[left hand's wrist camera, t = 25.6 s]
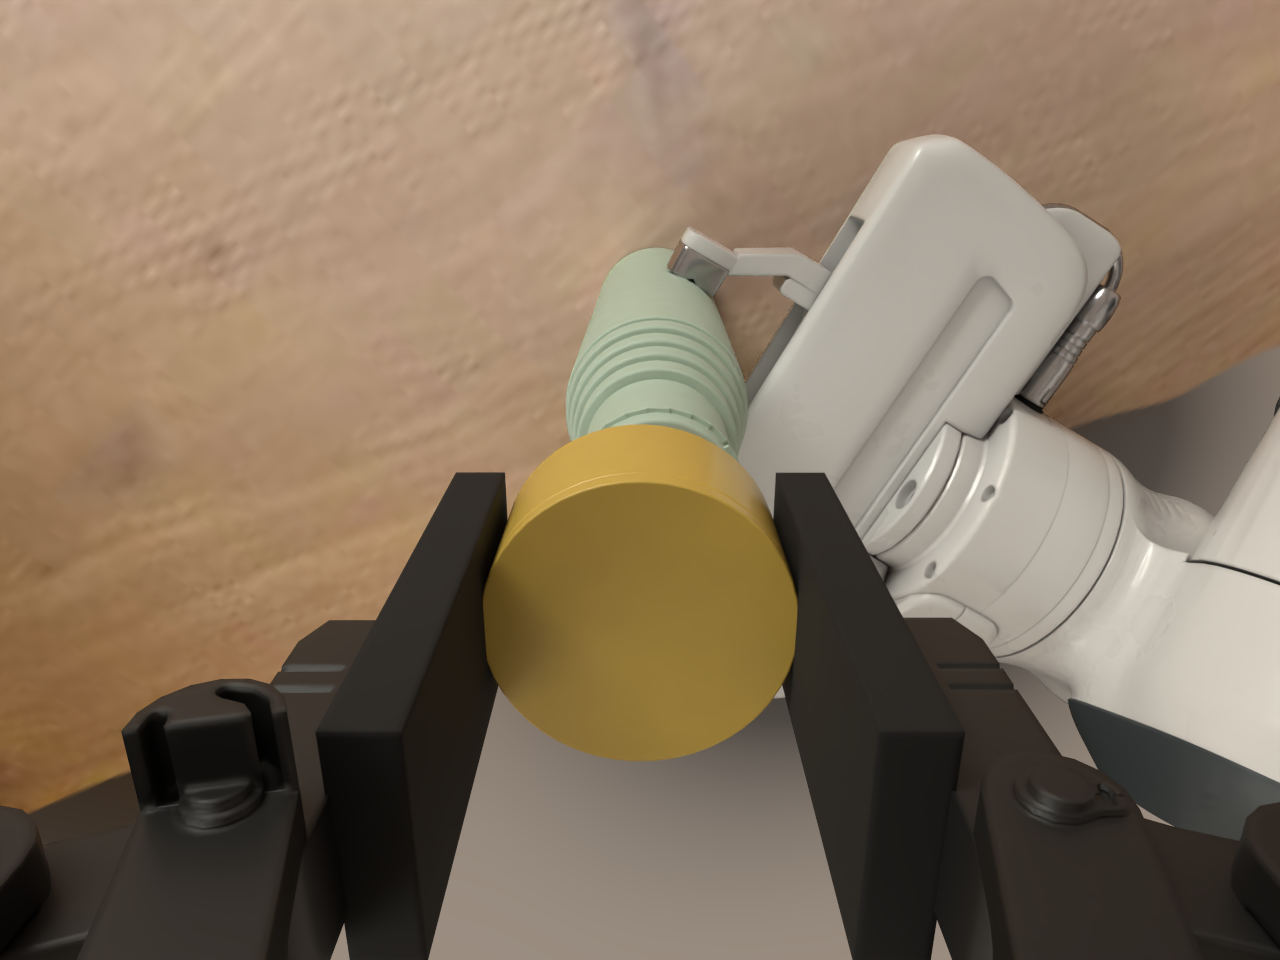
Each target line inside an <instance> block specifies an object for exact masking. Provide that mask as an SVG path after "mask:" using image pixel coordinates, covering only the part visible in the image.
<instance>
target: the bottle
mask: <svg viewBox="0 0 1280 960" xmlns="http://www.w3.org/2000/svg"><path fill="white" fill-rule="evenodd" d="M673 252H674V251H673V250H670V249H666V248H646V249H641V250H638V251H635V252H633V253H631V254H629V255H627V256H626V257H624V258H623V259H621V260H620V261H619V262H618V263H617V264H616V265H615V266H614V267H613V268H612V269H611V271H610V272H609V274H608V275H607V277H606V279H605V281H604V284H603V286H602V289H601V292H600V295H599V298H598V300H597V303H596V306H595V309H594V312H593V314H592V317H591V320H590V323H589V326H588V328H587V331H586V334H585V337H584V340H583V342H582V345H581V348H580V351H579V354H578V356H577V359H576V362H575V365H574V368H573V370H572V373H571V377H570V380H569V383H568V388H567V393H566V421H567V428H568V433H569V437H570V440H571V441H573V440H575V439H577V438H580V437H582V436H584V435H587V434H589V433H592V432H595V431H599V430H602V429H606V428H610V427H616V426H623V425H640V424H647V425H657V426H666V427H670V428H674V429H679V430H683V431H686V432H688V433H691V434H694V435H697V436H699V437H701V438H703V439H705V440H707V441H709V442H711V443H713V444H715V445H717V446H718V447H719V448H721V449H722V450H724V451H725V452H727V453H728V454H729V455H731V456H732V457H733V458H734V459H735V460H736V461H737V462H738V463H739V461H738V454H739V450H740V448H741V444H742V441H743V439H744V435H745V431H746V427H747V418H748V400H747V390H746V384H745V381H744V378H743V374H742V372H741V369H740V366H739V364H738V361H737V358H736V356H735V353H734V351H733V348H732V345H731V343H730V340H729V337H728V335H727V332H726V330H725V327H724V324H723V322H722V319H721V316H720V314H719V311H718V309H717V306H716V303H715V301H714V298H713V296H712V295H711V294H709V293H707V292H705V291H704V290H702V289H700V288H699V287H698V286H696V284H695V282H694V279H684V278H682V277H679V276H678V275H676V274H675V273H673V272H672V271H670V270H669V269H668V268H667V263H668V261H669V260H670V258H671V256H672V254H673Z"/></svg>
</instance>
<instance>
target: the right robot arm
mask: <svg viewBox="0 0 1280 960" xmlns="http://www.w3.org/2000/svg"><path fill="white" fill-rule="evenodd" d="M667 268H668V269H669V270H670V271H672V272H673V273H675V274H676V275H678V276H679V277H682V278H684V279H694V282H695V284H696V286H698V287H699V288H700V289H702V290H704V291H705V292H707V293H709V294H711V295H712V296H714V295H715V294H716V292H717V290H718V289H719V287H720V285H721V284H722V282H723V281H724V279H725V277H726V276H727V274H728V276H775V277H774V279H773V285H774V286H775V287H776V288H777V289H778V291H779V292H780V293H781V294H782V295H784V296H785V297H787V298H789V299H790V300H792V301H794V304H793V305H792V307H791V309H790V310H789V312H788V314H787V315H786V317H785V318H784V320H783V322H782V323H781V325H780V326H779V328H778V330H777V331H776V333H775V334H774V336H773V338H772V339H771V341H770V342H769V344H768V346H767V347H766V349H765V351H764V352H763V354H762V355H761V357H760V359H759V360H758V362H757V363H756V365H755V367H754V368H753V370H752V371H751V373H750V375H749V376H748V378H747V379H746V381H745V384H746V390H747V400H748V418H747V427H746V431H745V435H744V439H743V441H742V444H741V448H740V450H739V454H738V461H739V464H741V465H742V466H743V467H744V468H745V470H746V471H747V472H748V473H749V474H750V476H751V477H752V478H753V479H754V481H755V482H756V484H757V485H758V487H759V489H760V490H761V492H762V494H763V495H764V497H765V500H766V502H767V504H768V507H769V509H770V512H771V515H772V518H773V514H774V496H775V478H776V473H825V474H826V476H827V478H828V480H829V482H830V484H831V485H832V487H833V489H834V491H835V493H836V495H837V496H838V498H839V500H840V502H841V504H842V506H843V508H844V509H845V511H846V513H847V515H848V517H849V519H850V520H851V522H852V524H853V526H854V528H855V530H856V531H857V533H858V535H859V537H860V539H861V541H862V543H863V544H864V546H865V548H866V550H867V552H868V554H869V555H870V557H871V559H872V561H873V563H874V565H875V566H876V568H877V570H878V572H879V574H880V576H881V577H882V579H883V581H884V583H885V585H886V587H887V589H888V590H889V592H890V594H891V596H892V598H893V600H894V601H895V603H896V605H897V607H898V609H899V611H900V612H901V614H902V616H903V617H912V618H953V619H955V620H956V621H958V622H959V623H960V624H962V625H963V626H965V627H966V628H968V629H969V630H971V631H972V632H973V633H975V634H976V635H978V636H979V637H981V638H982V639H983V640H984V642H985V643H986V645H987V646H988V648H989V649H990V650H991V652H992V653H993V655H994V656H995V658H996V659H997V661H998V662H1001V663H1005V664H1010V665H1015V666H1018V667H1021V668H1023V669H1026V670H1027V671H1029V672H1031V673H1032V674H1033V675H1035V676H1036V677H1037V678H1038V679H1039V680H1040V681H1041V683H1042V684H1043V685H1044V686H1045V687H1046V688H1047V689H1048V690H1050V691H1051V692H1052V693H1053V694H1054V695H1055V696H1057V697H1058V698H1059V699H1061V700H1062V701H1064V702H1065V703H1067V704H1069V708H1070V711H1071V714H1072V717H1073V720H1074V722H1075V725H1076V727H1077V729H1078V731H1079V734H1080V735H1081V737H1082V739H1083V741H1084V743H1085V745H1086V747H1087V749H1088V751H1089V753H1090V755H1091V757H1092V759H1093V761H1094V762H1095V764H1096V766H1097V768H1098V770H1099V771H1102V772H1103V773H1105V774H1106V775H1107V776H1109V777H1110V778H1111V779H1113V780H1114V781H1115V782H1117V783H1118V784H1119V785H1121V786H1122V787H1123V788H1125V789H1126V791H1127V792H1128V793H1129V795H1130V796H1131V798H1132V799H1133V800H1134V802H1135V803H1136V804H1137V805H1139V806H1140V807H1142V808H1144V809H1145V810H1147V811H1148V812H1150V813H1152V814H1153V815H1155V816H1157V817H1159V818H1160V819H1162V820H1164V821H1165V822H1167V823H1169V824H1171V825H1173V826H1175V827H1178V828H1182V829H1187V830H1191V831H1196V832H1201V833H1205V834H1210V835H1215V836H1219V837H1224V838H1228V839H1233V840H1238V841H1240V838H1241V834H1242V831H1243V827H1244V824H1245V821H1246V818H1247V817H1248V816H1249V815H1250V814H1251V813H1252V812H1253V811H1254V810H1256V809H1257V808H1258V807H1259V806H1261V805H1266V804H1272V803H1277V802H1280V398H1279V400H1278V402H1277V404H1276V408H1275V413H1274V418H1273V419H1272V421H1271V423H1270V424H1269V426H1268V428H1267V430H1266V431H1265V433H1264V435H1263V436H1262V438H1261V440H1260V442H1259V443H1258V445H1257V447H1256V449H1255V450H1254V452H1253V453H1252V455H1251V457H1250V459H1249V460H1248V462H1247V464H1246V465H1245V467H1244V469H1243V471H1242V472H1241V474H1240V476H1239V477H1238V479H1237V481H1236V482H1235V484H1234V486H1233V488H1232V489H1231V491H1230V493H1229V494H1228V496H1227V498H1226V500H1225V501H1224V503H1223V505H1222V506H1221V508H1220V510H1219V512H1218V513H1217V515H1216V516H1215V515H1213V514H1211V513H1210V512H1208V511H1207V510H1205V509H1203V508H1201V507H1199V506H1197V505H1195V504H1193V503H1191V502H1189V501H1187V500H1184V499H1181V498H1178V497H1174V496H1170V495H1166V494H1161V493H1157V492H1154V491H1151V490H1149V489H1147V488H1146V487H1144V486H1143V485H1142V484H1140V483H1139V482H1138V481H1137V480H1136V479H1135V478H1134V476H1133V475H1132V474H1131V472H1130V471H1129V470H1128V469H1127V468H1126V467H1125V466H1124V465H1123V463H1121V462H1120V461H1119V460H1118V459H1117V458H1116V457H1114V456H1113V455H1112V454H1110V453H1109V452H1107V451H1105V450H1104V449H1102V448H1101V447H1099V446H1097V445H1095V444H1094V443H1092V442H1091V441H1089V440H1087V439H1086V438H1084V437H1082V436H1080V435H1079V434H1077V433H1075V432H1074V431H1072V430H1070V429H1069V428H1067V427H1065V426H1064V425H1062V424H1060V423H1059V422H1057V421H1055V420H1054V419H1052V418H1050V417H1048V416H1047V415H1045V414H1043V411H1042V409H1043V408H1044V406H1045V405H1046V404H1047V403H1048V401H1049V400H1050V399H1051V397H1052V396H1053V394H1054V393H1055V392H1056V390H1057V389H1058V388H1059V386H1060V385H1061V384H1062V382H1063V381H1064V380H1065V378H1066V377H1067V376H1068V374H1069V373H1070V371H1071V369H1072V368H1073V366H1074V365H1073V364H1075V363H1076V361H1077V359H1078V358H1077V357H1078V356H1080V354H1081V353H1082V349H1084V348H1085V347H1086V345H1087V342H1089V341H1090V340H1091V338H1092V337H1093V336H1094V335H1095V333H1096V332H1099V331H1100V330H1101V329H1102V328H1103V327H1104V326H1105V325H1106V324H1107V322H1108V321H1109V320H1110V318H1111V317H1112V315H1113V314H1114V312H1115V310H1116V308H1117V306H1118V304H1119V302H1120V299H1121V297H1120V295H1119V294H1117V293H1116V292H1115V291H1116V289H1117V287H1118V285H1119V282H1120V279H1121V276H1122V271H1123V256H1122V251H1121V246H1120V244H1119V242H1118V241H1117V239H1116V238H1115V236H1114V235H1113V234H1112V233H1111V232H1110V231H1109V230H1108V229H1107V228H1105V227H1104V226H1102V225H1101V224H1099V223H1098V222H1096V221H1095V220H1093V219H1091V218H1090V217H1088V216H1087V215H1085V214H1084V213H1082V212H1081V211H1079V210H1078V209H1076V208H1074V207H1071V206H1069V205H1064V204H1060V203H1049V204H1043V205H1041V204H1040V203H1039V202H1038V201H1037V200H1036V199H1034V198H1033V197H1032V196H1031V195H1030V194H1029V193H1028V192H1027V191H1026V190H1025V189H1023V188H1022V187H1021V186H1020V185H1019V184H1018V183H1017V182H1015V181H1014V180H1013V179H1012V178H1011V177H1010V176H1008V175H1007V174H1006V173H1005V172H1003V171H1002V170H1001V169H1000V168H998V167H997V166H996V165H995V164H993V163H992V162H991V161H989V160H988V159H987V158H985V157H984V156H982V155H981V154H980V153H978V152H977V151H976V150H974V149H973V148H971V147H970V146H968V145H967V144H965V143H964V142H962V141H961V140H959V139H956V138H954V137H951V136H947V135H941V134H932V135H925V136H920V137H915V138H912V139H908V140H904V141H901V142H898V143H896V144H895V145H894V146H893V147H891V149H890V150H889V151H888V153H887V154H886V156H885V158H884V159H883V161H882V162H881V164H880V166H879V167H878V169H877V170H876V172H875V174H874V175H873V177H872V178H871V180H870V182H869V183H868V185H867V186H866V188H865V190H864V191H863V193H862V194H861V196H860V198H859V199H858V201H857V203H856V204H855V206H854V207H853V209H852V211H851V212H850V214H849V215H848V217H847V219H846V220H845V222H844V223H843V225H842V227H841V228H840V230H839V231H838V233H837V235H836V236H835V238H834V240H833V241H832V243H831V244H830V246H829V248H828V249H827V251H826V252H825V254H824V256H823V257H822V259H821V260H820V262H819V263H817V262H815V261H814V260H812V259H810V258H809V257H807V256H805V255H804V254H802V253H800V252H798V251H797V250H795V249H793V248H792V247H779V248H735V249H734V251H732V250H730V249H728V248H727V247H725V246H723V245H722V244H720V243H718V242H716V241H715V240H713V239H711V238H710V237H708V236H706V235H705V234H703V233H701V232H700V231H698V230H696V229H694V228H692V227H690V226H688V227H687V229H686V230H685V232H684V234H683V236H682V238H681V239H680V241H679V243H678V245H677V247H676V248H675V250H674V252H673V254H672V256H671V258H670V260H669V261H668V263H667ZM1108 272H1109V273H1108ZM1107 273H1108V277H1107V280H1106V282H1105V285H1104V286H1103V285H1101V284H1100V283H1101V281H1102V280H1103V278H1104V277H1105V276H1106V274H1107ZM1016 394H1017V395H1016ZM774 698H785V694H784V690H783V686H781V688H780V689H779V691H778V692H777V694H776V695H775V696H774Z"/></svg>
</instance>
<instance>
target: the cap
mask: <svg viewBox="0 0 1280 960" xmlns="http://www.w3.org/2000/svg"><path fill="white" fill-rule="evenodd" d="M797 610H798V596H797V592H796V588H795V585H794V581H793V578H792V575H791V572H790V569H789V566H788V563H787V560H786V557H785V554H784V551H783V548H782V545H781V542H780V539H779V536H778V533H777V530H776V527H775V524H774V521H773V518H772V515H771V512H770V509H769V507H768V504H767V502H766V500H765V497H764V495H763V494H762V492H761V490H760V489H759V487H758V485H757V484H756V482H755V481H754V479H753V478H752V477H751V476H750V474H749V473H748V472H747V471H746V470H745V468H744V467H743V466H742V465H741V464H739V463H738V462H737V461H736V460H735V459H734V458H733V457H732V456H731V455H729V454H728V453H727V452H725V451H724V450H722V449H721V448H719V447H718V446H717V445H715V444H713V443H711V442H709V441H707V440H705V439H703V438H701V437H699V436H697V435H694V434H691V433H688V432H686V431H683V430H679V429H674V428H670V427H666V426H657V425H647V424H640V425H623V426H616V427H610V428H606V429H602V430H599V431H595V432H592V433H589V434H587V435H584V436H582V437H580V438H577V439H575V440H573V441H571V442H570V443H568V444H566V445H565V446H563V447H561V448H560V449H558V450H557V451H556V452H554V453H553V454H552V455H551V456H549V457H548V458H547V459H545V460H544V461H543V462H542V463H541V464H540V465H539V467H538V468H537V469H536V470H535V471H534V472H533V473H532V474H531V476H530V477H529V478H528V480H527V481H526V482H525V484H524V485H523V487H522V488H521V490H520V492H519V494H518V496H517V498H516V500H515V502H514V504H513V507H512V510H511V513H510V516H509V518H508V521H507V524H506V527H505V530H504V533H503V535H502V538H501V541H500V544H499V547H498V550H497V552H496V555H495V558H494V561H493V564H492V567H491V569H490V572H489V575H488V578H487V581H486V584H485V586H484V591H483V612H484V627H485V641H486V655H487V662H488V665H489V667H490V669H491V672H492V674H493V677H494V678H495V680H496V682H497V683H498V685H499V687H500V689H501V690H502V692H503V693H504V695H505V696H506V697H507V699H508V700H509V701H510V702H511V704H512V705H513V706H514V707H515V709H517V710H518V711H519V712H520V713H521V714H522V715H523V716H524V717H525V718H526V719H527V720H528V721H529V722H530V723H532V724H533V725H534V726H535V727H537V728H538V729H540V730H541V731H542V732H544V733H545V734H547V735H548V736H550V737H552V738H554V739H555V740H557V741H559V742H561V743H563V744H565V745H567V746H570V747H572V748H574V749H576V750H579V751H582V752H585V753H589V754H592V755H595V756H600V757H605V758H610V759H615V760H626V761H656V760H664V759H672V758H677V757H681V756H685V755H689V754H693V753H696V752H698V751H701V750H704V749H707V748H709V747H712V746H714V745H716V744H718V743H720V742H722V741H724V740H726V739H728V738H729V737H731V736H732V735H734V734H735V733H737V732H738V731H740V730H741V729H743V728H744V727H745V726H746V725H748V724H749V723H750V722H751V721H753V720H754V719H755V718H756V717H757V716H758V715H759V714H760V713H761V712H762V711H763V710H764V709H765V708H766V707H767V705H768V704H769V703H770V702H771V701H772V699H773V698H774V696H775V695H776V694H777V692H778V691H779V689H780V688H781V686H782V684H783V682H784V680H785V678H786V677H787V675H788V673H789V671H790V668H791V665H792V662H793V660H794V653H795V640H796V625H797Z"/></svg>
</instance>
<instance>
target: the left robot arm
mask: <svg viewBox="0 0 1280 960" xmlns="http://www.w3.org/2000/svg"><path fill="white" fill-rule="evenodd" d="M507 521H508V520H507V503H506V485H505V473H456V474H455V476H454V477H453V479H452V481H451V483H450V485H449V487H448V488H447V490H446V492H445V494H444V496H443V498H442V499H441V501H440V503H439V505H438V507H437V509H436V511H435V512H434V514H433V516H432V518H431V520H430V522H429V523H428V525H427V527H426V529H425V531H424V533H423V534H422V536H421V538H420V540H419V542H418V544H417V546H416V547H415V549H414V551H413V553H412V555H411V557H410V558H409V560H408V562H407V564H406V566H405V568H404V569H403V571H402V573H401V575H400V577H399V579H398V581H397V582H396V584H395V586H394V588H393V590H392V592H391V593H390V595H389V597H388V599H387V601H386V603H385V605H384V606H383V608H382V610H381V612H380V614H379V616H378V617H377V619H376V620H329V621H328V622H326V623H325V624H323V625H322V626H321V627H319V628H318V629H316V630H315V631H313V632H312V633H310V634H309V635H308V636H306V637H305V638H303V639H302V640H300V641H299V642H298V643H297V645H296V646H295V648H294V649H293V651H292V652H291V654H290V655H289V657H288V658H287V660H286V661H285V663H284V664H283V666H282V671H281V672H278V673H277V675H276V676H275V677H274V679H273V680H272V682H271V683H270V684H267V683H263V682H260V681H256V680H252V679H220V680H215V681H210V682H205V683H200V684H195V685H190V686H188V687H185V688H183V689H180V690H178V691H175V692H173V693H170V694H168V695H165V696H163V697H161V698H159V699H157V700H156V701H154V702H153V703H151V704H150V705H148V706H147V707H145V708H144V709H142V710H141V711H139V712H138V713H136V714H135V716H134V717H133V718H132V719H131V720H130V722H129V723H128V724H127V725H126V726H125V728H124V729H123V730H122V731H121V732H122V736H123V740H124V744H125V748H126V753H127V757H128V761H129V765H130V769H131V773H132V777H133V781H134V785H135V789H136V794H137V798H138V802H139V806H140V812H139V815H138V817H137V819H136V822H135V823H133V824H129V825H126V826H122V827H119V828H115V829H112V830H107V831H103V832H98V833H94V834H89V835H84V836H80V837H75V838H71V839H66V840H61V841H57V842H52V843H48V844H43V845H42V842H41V838H40V835H39V832H38V828H37V825H36V822H35V821H34V820H33V819H32V818H31V817H30V816H29V815H28V814H26V813H25V812H24V811H23V810H21V809H16V808H11V807H5V806H0V960H330V959H331V956H332V953H333V951H334V948H335V945H336V943H337V940H338V937H339V935H340V932H341V929H342V927H343V924H345V931H346V937H347V944H348V951H349V957H350V960H428V958H429V954H430V950H431V946H432V942H433V938H434V934H435V930H436V927H437V923H438V919H439V915H440V911H441V907H442V903H443V899H444V895H445V891H446V888H447V884H448V880H449V876H450V872H451V868H452V864H453V860H454V856H455V853H456V849H457V845H458V841H459V837H460V833H461V829H462V825H463V821H464V817H465V814H466V810H467V806H468V802H469V798H470V794H471V790H472V786H473V782H474V778H475V774H476V771H477V767H478V763H479V759H480V755H481V751H482V747H483V743H484V739H485V736H486V732H487V728H488V724H489V720H490V716H491V712H492V708H493V704H494V700H495V697H496V693H497V689H498V683H497V682H496V680H495V678H494V677H493V674H492V672H491V669H490V667H489V665H488V662H487V655H486V641H485V627H484V612H483V591H484V586H485V584H486V581H487V578H488V575H489V572H490V569H491V567H492V564H493V561H494V558H495V555H496V552H497V550H498V547H499V544H500V541H501V538H502V535H503V533H504V530H505V527H506V524H507ZM773 521H774V524H775V527H776V530H777V533H778V536H779V539H780V542H781V545H782V548H783V551H784V554H785V557H786V560H787V563H788V566H789V569H790V572H791V575H792V578H793V581H794V585H795V588H796V592H797V596H798V610H797V625H796V640H795V653H794V660H793V662H792V665H791V668H790V671H789V673H788V675H787V677H786V678H785V680H784V682H783V684H782V686H783V690H784V694H785V698H786V702H787V706H788V710H789V714H790V718H791V721H792V725H793V729H794V733H795V737H796V741H797V745H798V749H799V753H800V756H801V760H802V764H803V768H804V772H805V776H806V780H807V784H808V788H809V792H810V796H811V799H812V803H813V807H814V811H815V815H816V819H817V823H818V827H819V830H820V834H821V838H822V842H823V846H824V850H825V854H826V858H827V861H828V866H829V870H830V873H831V877H832V881H833V885H834V889H835V893H836V897H837V901H838V905H839V908H840V913H841V916H842V920H843V924H844V928H845V932H846V936H847V940H848V943H849V948H850V951H851V955H852V959H853V960H931V954H932V948H933V941H934V935H935V928H936V922H937V921H938V923H939V926H940V928H941V931H942V934H943V936H944V939H945V942H946V944H947V947H948V950H949V952H950V955H951V958H952V960H1280V802H1277V803H1272V804H1266V805H1261V806H1259V807H1258V808H1257V809H1256V810H1254V811H1253V812H1252V813H1251V814H1250V815H1249V816H1248V817H1247V818H1246V821H1245V824H1244V827H1243V831H1242V834H1241V838H1240V841H1238V840H1233V839H1228V838H1224V837H1219V836H1215V835H1210V834H1205V833H1201V832H1196V831H1191V830H1187V829H1182V828H1178V827H1173V826H1169V825H1165V824H1162V823H1158V822H1155V821H1151V820H1148V819H1145V818H1143V815H1142V813H1141V811H1140V809H1139V807H1138V806H1137V805H1136V803H1135V802H1134V800H1133V799H1132V798H1131V796H1130V795H1129V793H1128V792H1127V791H1126V789H1125V788H1123V787H1122V786H1121V785H1119V784H1118V783H1117V782H1115V781H1114V780H1113V779H1111V778H1110V777H1109V776H1107V775H1106V774H1105V773H1103V772H1102V771H1099V770H1097V769H1095V768H1093V767H1091V766H1088V765H1086V764H1084V763H1082V762H1079V761H1077V760H1075V759H1072V758H1068V757H1063V756H1062V755H1061V754H1060V752H1059V751H1058V749H1057V748H1056V746H1055V745H1054V743H1053V742H1052V741H1051V739H1050V738H1049V736H1048V735H1047V733H1046V732H1045V730H1044V729H1043V727H1042V726H1041V724H1040V723H1039V721H1038V720H1037V718H1036V717H1035V715H1034V714H1033V712H1032V711H1031V710H1030V708H1029V707H1028V705H1027V704H1026V702H1025V701H1024V699H1023V698H1022V696H1021V695H1020V693H1019V692H1018V690H1014V688H1013V683H1012V682H1011V680H1010V679H1009V677H1008V676H1007V674H1006V673H1005V671H1004V670H1003V669H1000V667H999V662H998V661H997V659H996V658H995V656H994V655H993V653H992V652H991V650H990V649H989V648H988V646H987V645H986V643H985V642H984V640H983V639H982V638H981V637H979V636H978V635H976V634H975V633H973V632H972V631H971V630H969V629H968V628H966V627H965V626H963V625H962V624H960V623H959V622H958V621H956V620H955V619H953V618H912V617H903V616H902V614H901V612H900V611H899V609H898V607H897V605H896V603H895V601H894V600H893V598H892V596H891V594H890V592H889V590H888V589H887V587H886V585H885V583H884V581H883V579H882V577H881V576H880V574H879V572H878V570H877V568H876V566H875V565H874V563H873V561H872V559H871V557H870V555H869V554H868V552H867V550H866V548H865V546H864V544H863V543H862V541H861V539H860V537H859V535H858V533H857V531H856V530H855V528H854V526H853V524H852V522H851V520H850V519H849V517H848V515H847V513H846V511H845V509H844V508H843V506H842V504H841V502H840V500H839V498H838V496H837V495H836V493H835V491H834V489H833V487H832V485H831V484H830V482H829V480H828V478H827V476H826V474H825V473H776V478H775V496H774V514H773Z"/></svg>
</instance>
